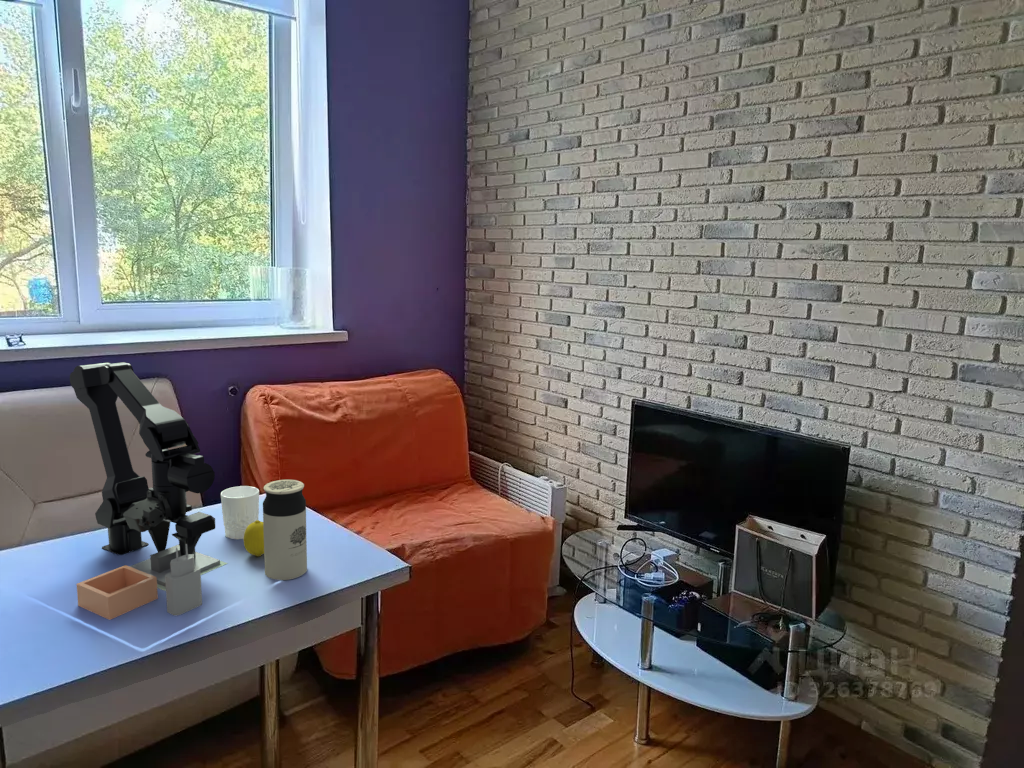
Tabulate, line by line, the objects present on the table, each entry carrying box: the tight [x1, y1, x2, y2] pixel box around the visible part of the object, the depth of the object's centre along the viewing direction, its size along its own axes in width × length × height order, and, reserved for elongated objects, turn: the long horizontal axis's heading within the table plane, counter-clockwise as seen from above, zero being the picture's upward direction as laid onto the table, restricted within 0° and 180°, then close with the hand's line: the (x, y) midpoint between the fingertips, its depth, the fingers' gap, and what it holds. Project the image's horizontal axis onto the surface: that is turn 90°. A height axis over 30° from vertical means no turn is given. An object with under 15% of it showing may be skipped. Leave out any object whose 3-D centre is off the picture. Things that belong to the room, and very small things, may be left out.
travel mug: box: [262, 479, 308, 581], centre depth 141 cm, size 8×8×18 cm
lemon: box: [243, 519, 264, 558], centre depth 148 cm, size 6×6×8 cm
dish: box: [75, 564, 159, 621], centre depth 128 cm, size 9×9×4 cm
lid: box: [128, 543, 221, 587], centre depth 142 cm, size 12×12×4 cm
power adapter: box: [165, 544, 203, 617], centre depth 126 cm, size 3×5×12 cm, turn 149°
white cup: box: [220, 485, 260, 540], centre depth 159 cm, size 8×8×10 cm
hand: (173, 558), depth 142 cm, fingers open, 7 cm apart
